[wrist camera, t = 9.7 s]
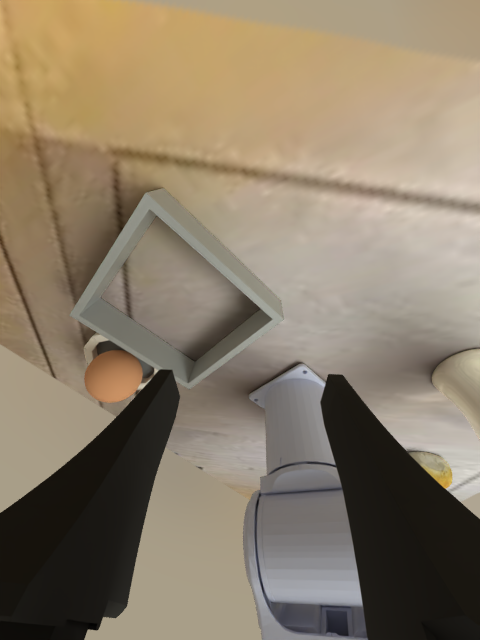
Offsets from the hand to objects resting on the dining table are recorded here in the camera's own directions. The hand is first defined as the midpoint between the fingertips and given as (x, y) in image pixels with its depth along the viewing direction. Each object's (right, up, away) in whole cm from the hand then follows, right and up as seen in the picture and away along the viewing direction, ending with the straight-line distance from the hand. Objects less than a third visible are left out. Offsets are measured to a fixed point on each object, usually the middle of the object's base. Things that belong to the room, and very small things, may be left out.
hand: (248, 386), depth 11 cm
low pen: (-5, +5, +10) cm, 12 cm away
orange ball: (-13, -2, +12) cm, 17 cm away
